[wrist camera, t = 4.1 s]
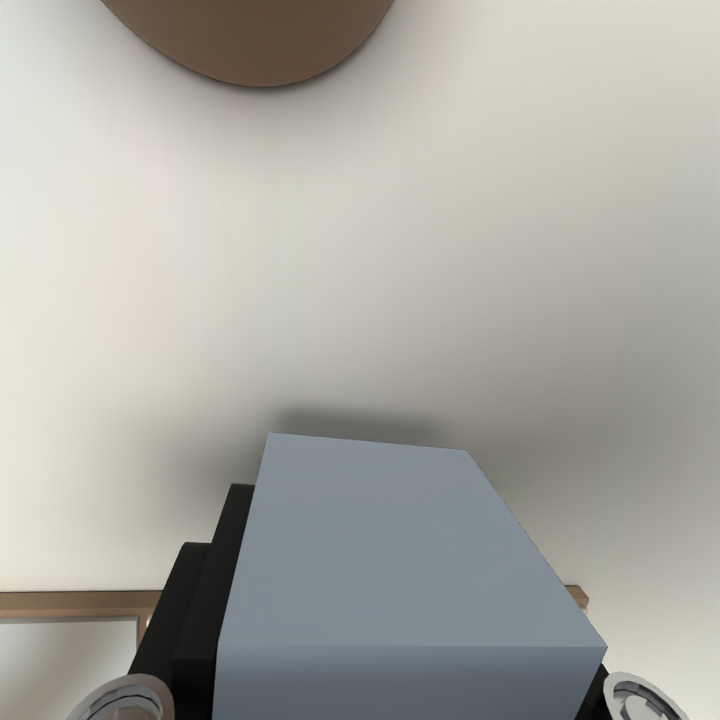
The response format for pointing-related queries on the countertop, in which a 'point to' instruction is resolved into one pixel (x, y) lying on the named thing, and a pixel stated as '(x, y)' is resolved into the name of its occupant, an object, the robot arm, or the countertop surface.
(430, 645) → the light blue cube
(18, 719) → the track
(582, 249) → the countertop surface
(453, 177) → the countertop surface
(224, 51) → the mug
